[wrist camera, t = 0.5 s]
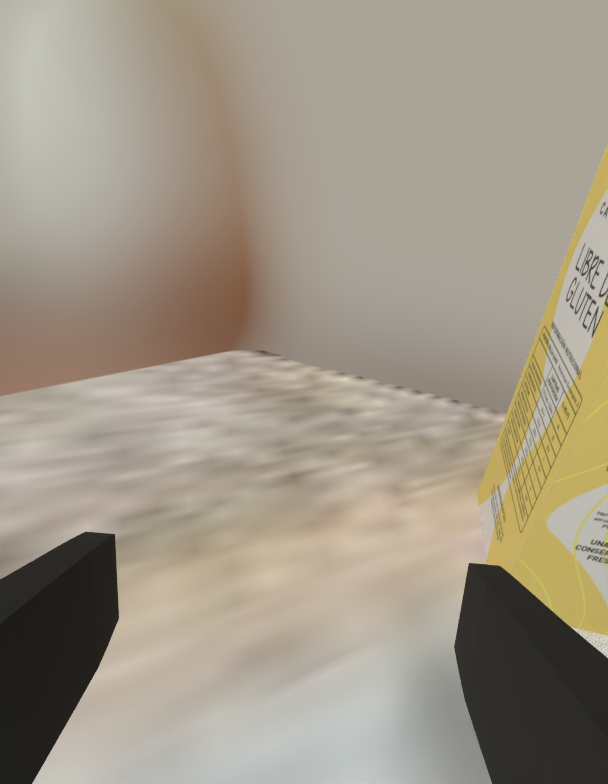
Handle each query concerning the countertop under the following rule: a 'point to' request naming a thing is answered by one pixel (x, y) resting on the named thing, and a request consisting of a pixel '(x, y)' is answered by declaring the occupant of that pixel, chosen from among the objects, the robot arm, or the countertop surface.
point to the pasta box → (560, 441)
